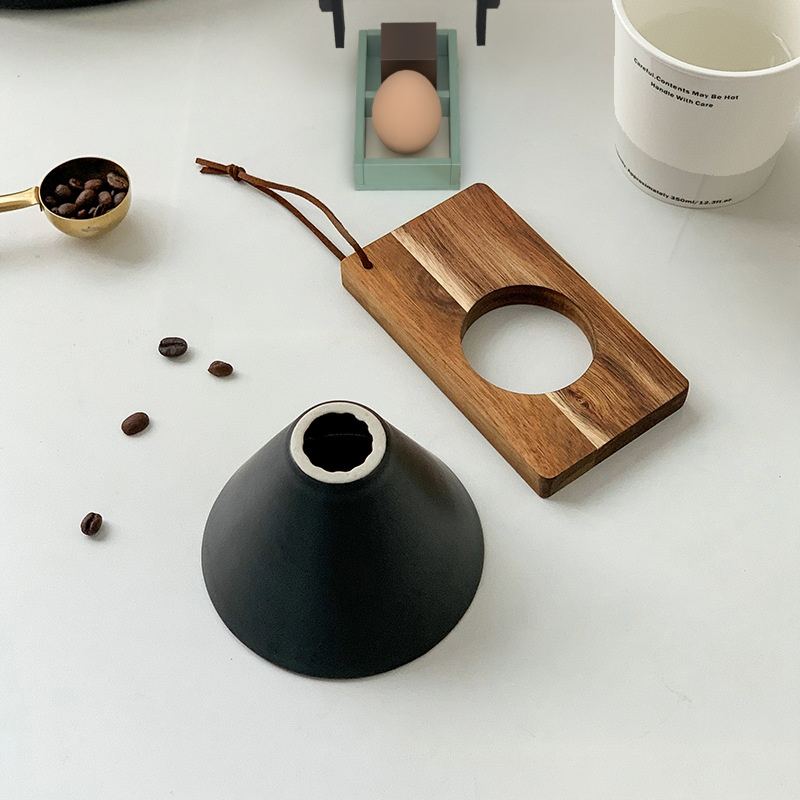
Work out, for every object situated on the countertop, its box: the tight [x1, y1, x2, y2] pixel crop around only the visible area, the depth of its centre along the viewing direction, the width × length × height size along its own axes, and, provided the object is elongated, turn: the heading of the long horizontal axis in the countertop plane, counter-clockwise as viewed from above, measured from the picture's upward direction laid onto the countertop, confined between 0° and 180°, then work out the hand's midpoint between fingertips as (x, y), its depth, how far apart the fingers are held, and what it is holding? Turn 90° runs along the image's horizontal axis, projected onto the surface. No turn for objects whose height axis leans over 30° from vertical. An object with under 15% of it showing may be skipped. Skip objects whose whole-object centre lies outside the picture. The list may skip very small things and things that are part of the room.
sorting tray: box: [353, 28, 462, 191], centre depth 107 cm, size 9×17×3 cm, turn 0°
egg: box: [372, 70, 442, 154], centre depth 102 cm, size 6×6×8 cm
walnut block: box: [380, 21, 438, 91], centre depth 108 cm, size 5×5×5 cm
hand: (410, 37), depth 106 cm, fingers open, 12 cm apart
